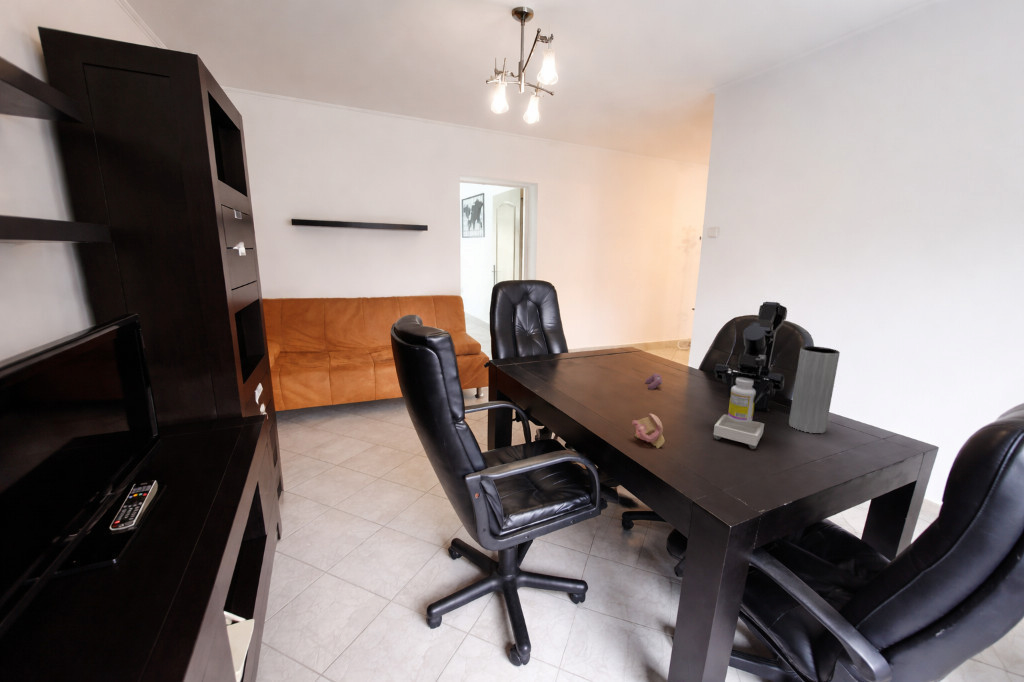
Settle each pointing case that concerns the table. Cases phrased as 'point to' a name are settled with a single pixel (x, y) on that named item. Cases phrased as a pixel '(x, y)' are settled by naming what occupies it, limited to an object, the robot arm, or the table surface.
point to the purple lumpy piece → (654, 381)
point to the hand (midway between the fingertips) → (741, 400)
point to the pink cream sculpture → (650, 430)
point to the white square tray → (739, 431)
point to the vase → (813, 388)
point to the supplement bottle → (742, 400)
